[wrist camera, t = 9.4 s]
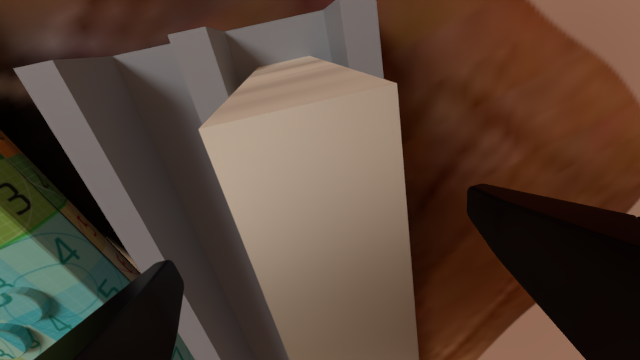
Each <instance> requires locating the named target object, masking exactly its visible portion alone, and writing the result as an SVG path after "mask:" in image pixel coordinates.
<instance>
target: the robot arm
mask: <svg viewBox="0 0 640 360" xmlns="http://www.w3.org/2000/svg"><path fill="white" fill-rule="evenodd" d="M467 214H468V216H469V218H470V220H471V221H472V222H473V224H474V225H475V227H476V228H477V230H478V231H479V232H480V234H481V235H482V237H483V238H484V240H485V241H486V242H487V244H488V245H489V247H490V248H491V250H492V251H493V252H494V254H495V255H496V256H497V258H498V259H499V260H500V261H501V262H502V264H503V265H504V266H505V267H506V268H507V269H508V271H509V272H510V273H511V274H512V275H513V276H514V278H515V279H516V280H517V281H518V282H519V283H520V284H521V286H522V287H523V288H524V289H525V290H526V291H527V292H528V294H529V295H530V296H531V297H532V298H533V299H534V301H535V302H536V303H537V304H538V305H539V306H540V307H541V308H542V310H543V311H544V312H545V313H546V314H547V315H548V316H549V318H550V319H551V320H552V321H553V322H554V324H556V326H557V327H558V328H559V329H560V330H561V332H563V334H564V335H565V336H566V337H567V338H568V340H569V341H570V342H571V343H572V344H573V345H574V347H575V348H576V349H577V350H578V351H579V352H580V353H581V355H582V356H583V357H584V358H585V359H586V360H640V217H636V216H634V215H630V214H625V213H621V212H616V211H611V210H606V209H602V208H597V207H592V206H587V205H582V204H578V203H573V202H568V201H563V200H559V199H554V198H549V197H544V196H540V195H535V194H530V193H525V192H521V191H516V190H511V189H506V188H502V187H497V186H492V185H487V184H478V185H474V186H471V187H469V188H468V191H467ZM183 293H184V281H183V279H182V277H181V275H180V273H179V271H178V269H177V267H176V266H175V264H174V262H173V261H172V260H164V261H160V262H157V263H155V264H153V265H152V266H151V267H149V268H148V269H147V270H146V271H144V272H143V273H142V274H141V275H139V276H138V277H137V278H136V279H134V280H133V281H132V282H131V283H129V284H128V285H127V286H126V287H124V288H123V289H122V290H120V291H119V292H118V293H117V294H115V295H114V296H113V297H112V298H110V299H109V300H108V301H107V302H105V303H104V304H103V305H102V306H100V307H99V308H98V309H97V310H95V311H94V312H93V313H91V314H90V315H89V316H88V317H86V318H85V319H84V320H83V321H81V322H80V323H79V324H78V325H76V326H75V327H74V328H73V329H71V330H70V331H69V332H68V333H66V334H65V335H64V336H63V337H61V338H60V339H59V340H57V341H56V342H55V343H54V344H52V345H51V346H50V347H49V348H47V349H46V350H45V351H44V352H42V353H41V354H40V355H39V356H37V357H36V358H35V359H34V360H171V359H172V355H173V351H174V347H175V343H176V338H177V333H178V327H179V320H180V314H181V307H182V300H183Z"/></svg>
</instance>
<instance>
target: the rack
mask: <svg viewBox="0 0 640 360" xmlns="http://www.w3.org/2000/svg"><path fill="white" fill-rule="evenodd" d="M168 38H169V40H170V43H171V44H166V45H162V46H157V47H153V48H148V49H144V50H139V51H134V52H130V53H125V54H121V55H116V56H110V57H94V58H78V59H62V60H50V61H46V62H41V63H37V64H32V65H27V66H23V67H18V68H14V71H15V72H16V74H17V76H18V77H19V79H20V80H21V82H22V84H23V85H24V87H25V88H26V90H27V92H28V93H29V95H30V96H31V98H32V100H33V101H34V103H35V104H36V106H37V108H38V109H39V111H40V112H41V114H42V116H43V117H44V119H45V120H46V122H47V124H48V125H49V127H50V128H51V130H52V132H53V133H54V135H55V136H56V138H57V140H58V141H59V143H60V144H61V146H62V148H63V149H64V151H65V152H66V154H67V156H68V157H69V159H70V160H71V162H72V164H73V165H74V167H75V168H76V170H77V172H78V173H79V175H80V176H81V178H82V180H83V181H84V183H85V184H86V186H87V188H88V189H89V191H90V192H91V194H92V196H93V197H94V199H95V200H96V202H97V204H98V205H99V207H100V208H101V210H102V212H103V213H104V215H105V216H106V218H107V220H108V221H109V223H110V224H111V226H112V228H113V229H114V231H115V232H116V234H117V236H118V237H119V239H120V240H121V242H122V244H123V245H124V247H125V248H126V250H127V252H128V253H129V255H130V256H131V258H132V260H133V261H134V263H135V264H136V266H137V268H138V269H139V271H140V272H141V274H142V273H143V272H144V271H146V270H147V269H148V268H149V267H151V266H152V265H153V264H155V263H157V262H160V261H164V260H172V261H173V262H174V264H175V266H176V267H177V269H178V271H179V273H180V275H181V277H182V279H183V281H184V293H183V300H182V307H181V314H180V320H179V327H178V333H179V335H180V336H181V338H182V340H183V341H184V343H185V344H186V346H187V348H188V349H189V351H190V352H191V354H192V356H193V357H194V359H195V360H289V357H288V355H287V352H286V349H285V347H284V344H283V342H282V339H281V337H280V334H279V332H278V329H277V327H276V324H275V322H274V319H273V317H272V314H271V312H270V309H269V307H268V304H267V302H266V299H265V297H264V294H263V291H262V289H261V286H260V284H259V281H258V279H257V276H256V274H255V271H254V269H253V266H252V264H251V261H250V259H249V256H248V254H247V251H246V249H245V246H244V244H243V241H242V238H241V236H240V233H239V231H238V228H237V226H236V223H235V221H234V218H233V216H232V213H231V211H230V208H229V206H228V203H227V201H226V198H225V196H224V193H223V191H222V188H221V186H220V183H219V180H218V178H217V175H216V173H215V170H214V168H213V165H212V163H211V160H210V158H209V155H208V153H207V150H206V148H205V145H204V143H203V140H202V138H201V135H200V133H199V130H198V129H199V128H200V127H201V126H202V125H203V124H204V123H205V122H206V121H207V120H208V119H209V118H210V116H211V115H212V114H213V113H214V112H215V111H216V110H217V109H218V108H219V107H220V106H221V105H222V104H223V103H224V102H225V101H226V100H227V99H228V98H229V97H230V96H231V95H232V94H233V93H234V92H235V91H236V90H237V89H238V88H239V87H240V86H241V85H242V83H243V82H244V81H245V80H246V79H247V78H248V77H249V76H250V75H251V74H252V73H253V72H254V71H255V70H256V69H257V68H258V67H262V66H267V65H271V64H276V63H280V62H284V61H289V60H293V59H298V58H302V57H307V56H312V57H315V58H318V59H322V60H325V61H328V62H331V63H334V64H337V65H341V66H344V67H347V68H350V69H353V70H356V71H360V72H363V73H366V74H369V75H372V76H375V77H379V78H382V79H384V75H383V65H382V55H381V44H380V34H379V24H378V13H377V3H376V0H335V1H334V2H333V3H331V4H330V5H329V6H328V7H326V8H325V9H324V10H321V11H317V12H312V13H308V14H303V15H299V16H294V17H289V18H285V19H280V20H276V21H271V22H267V23H262V24H258V25H253V26H248V27H244V28H239V29H235V30H230V31H226V32H224V31H220V30H216V29H212V28H208V27H201V28H197V29H192V30H188V31H183V32H179V33H174V34H169V35H168Z"/></svg>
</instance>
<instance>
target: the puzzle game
mask: <svg viewBox="0 0 640 360" xmlns="http://www.w3.org/2000/svg"><path fill="white" fill-rule="evenodd" d="M139 275H141V273H140V272H139V271H138V270H137V269H136V268H135V267H134V266H133V265H132V264H131V263H130V262H129V260H128V259H127V258H126V257H125V256H124V255H123V254H122V253H121V252H120V251H119V250H118V249H117V248H116V247H115V246H114V245H113V244H112V243H111V242H109V241H108V240H107V239H106V238H105V237H104V236H103V235H102V234H101V233H100V232H99V231H98V230H97V229H96V228H95V227H94V226H93V225H92V224H91V223H90V222H89V221H88V220H87V219H86V218H85V217H84V216H83V214H82V213H81V212H80V211H79V210H78V209H77V208H76V207H75V206H74V205H73V204H72V203H71V202H70V201H69V200H68V199H67V198H66V197H65V196H64V195H63V194H62V193H61V192H60V191H59V190H58V189H57V188H56V187H55V186H54V185H53V184H52V183H51V181H50V180H49V179H48V178H47V177H46V176H45V175H44V174H43V173H42V172H41V171H40V170H39V169H38V168H37V167H36V166H35V165H34V164H33V163H32V162H31V161H30V160H29V159H28V158H27V157H26V156H25V155H24V154H23V153H22V152H21V151H20V150H19V149H18V147H17V146H16V145H15V144H14V143H13V142H12V141H11V140H10V139H9V138H8V137H7V136H6V135H5V134H4V133H3V132H2V131H1V130H0V360H34V359H35V358H36V357H37V356H39V355H40V354H41V353H42V352H44V351H45V350H46V349H47V348H49V347H50V346H51V345H52V344H54V343H55V342H56V341H57V340H59V339H60V338H61V337H63V336H64V335H65V334H66V333H68V332H69V331H70V330H71V329H73V328H74V327H75V326H76V325H78V324H79V323H80V322H81V321H83V320H84V319H85V318H86V317H88V316H89V315H90V314H91V313H93V312H94V311H95V310H97V309H98V308H99V307H100V306H102V305H103V304H104V303H105V302H107V301H108V300H109V299H110V298H112V297H113V296H114V295H115V294H117V293H118V292H119V291H120V290H122V289H123V288H124V287H126V286H127V285H128V284H129V283H131V282H132V281H133V280H134V279H136V278H137V277H138V276H139ZM171 360H195V359H194V357H193V356H192V354H191V352H190V351H189V349H188V348H187V346H186V344H185V343H184V341H183V340H182V338H181V336H180V335H179V333H177V338H176V343H175V347H174V351H173V355H172V359H171Z"/></svg>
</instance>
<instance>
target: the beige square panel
mask: <svg viewBox="0 0 640 360" xmlns="http://www.w3.org/2000/svg"><path fill="white" fill-rule="evenodd" d="M198 130H199V133H200V135H201V138H202V140H203V143H204V145H205V148H206V150H207V153H208V155H209V158H210V160H211V163H212V165H213V168H214V170H215V173H216V175H217V178H218V180H219V183H220V186H221V188H222V191H223V193H224V196H225V198H226V201H227V203H228V206H229V208H230V211H231V213H232V216H233V218H234V221H235V223H236V226H237V228H238V231H239V233H240V236H241V238H242V241H243V244H244V246H245V249H246V251H247V254H248V256H249V259H250V261H251V264H252V266H253V269H254V271H255V274H256V276H257V279H258V281H259V284H260V286H261V289H262V291H263V294H264V297H265V299H266V302H267V304H268V307H269V309H270V312H271V314H272V317H273V319H274V322H275V324H276V327H277V329H278V332H279V334H280V337H281V339H282V342H283V344H284V347H285V349H286V352H287V355H288V357H289V360H419V352H418V340H417V327H416V315H415V302H414V290H413V277H412V264H411V252H410V239H409V227H408V214H407V202H406V189H405V177H404V164H403V152H402V139H401V126H400V114H399V101H398V89H397V83H394V82H391V81H388V80H385V79H382V78H379V77H375V76H372V75H369V74H366V73H363V72H360V71H356V70H353V69H350V68H347V67H344V66H341V65H337V64H334V63H331V62H328V61H325V60H322V59H318V58H315V57H312V56H307V57H302V58H298V59H293V60H289V61H284V62H280V63H276V64H271V65H267V66H262V67H258V68H257V69H256V70H255V71H254V72H253V73H252V74H251V75H250V76H249V77H248V78H247V79H246V80H245V81H244V82H243V83H242V85H241V86H240V87H239V88H238V89H237V90H236V91H235V92H234V93H233V94H232V95H231V96H230V97H229V98H228V99H227V100H226V101H225V102H224V103H223V104H222V105H221V106H220V107H219V108H218V109H217V110H216V111H215V112H214V113H213V114H212V115H211V116H210V118H209V119H208V120H207V121H206V122H205V123H204V124H203V125H202V126H201V127H200V128H199V129H198Z"/></svg>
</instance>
